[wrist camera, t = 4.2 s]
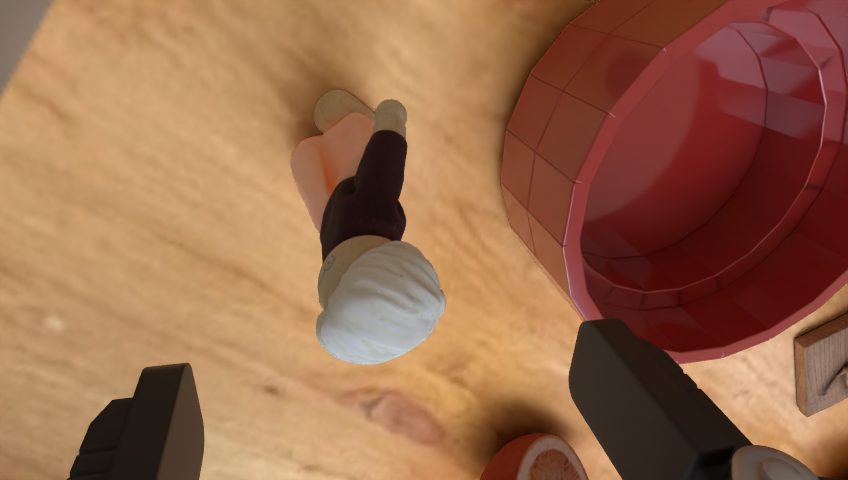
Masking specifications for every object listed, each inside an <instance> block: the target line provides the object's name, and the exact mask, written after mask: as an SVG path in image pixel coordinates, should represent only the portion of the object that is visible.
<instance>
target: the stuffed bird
mask: <svg viewBox="0 0 848 480" xmlns="http://www.w3.org/2000/svg"><path fill="white" fill-rule="evenodd" d="M794 345H795V348H794V349H795V369H796V388H797V406H798V407H799V410H800V412H801V413H802V414H803V415H805V416H806V417H809V416H811V415H813V414H815V413H817V412H819V411H822V410H824V409H826V408H828V407H830V406H832V405H834V404H836V403H838V402H840V401H842V400H844V399H846V398H848V313H847V314H845V315H842V316H840V317H838V318H837V319H835V320H832V321H830V322H828V323H826V324H824V325H822V326H820V327H818V328H816V329H814V330H812V331H810V332H808V333H806V334H804V335H802V336H800V337H798V338H796V339H795V340H794Z"/></svg>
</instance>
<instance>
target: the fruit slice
mask: <svg viewBox="0 0 848 480" xmlns="http://www.w3.org/2000/svg"><path fill="white" fill-rule="evenodd" d="M480 480H589V479H588V477H587V474H586V471H585V469H584V467H583V465H582V463H581V461H580V459H579V458H578V456H577V455H576V453H575V452H574V450H573V449H572V447H571V446H570V445H569V444H568V443H567V442H565V441H564V440H563V439H562V438H560V437H558V436H556V435H551V434H543V433H532V434H528V435H524V436H521V437H518V438H516V439H515V440H513V441H511V442H509V443H507V444H506V445H505V446H504V447H502V448H501V449H500V450H499V452H498V453H496V454H495V455H494V456H493V458H492V459H491V461H490V462H489V464H488V466H487V467H486V469H485V471H484V472H483V474H482V476H481V478H480Z"/></svg>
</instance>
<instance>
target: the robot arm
mask: <svg viewBox="0 0 848 480" xmlns="http://www.w3.org/2000/svg"><path fill="white" fill-rule="evenodd" d="M569 389H570V393H571V396H572V399H573V401H574V403H575V405H576V406H577V408H578V410H579V411H580V413H581V414H582V416H583V418H584V419H585V421H586V422H587V424H588V425H589V427H590V429H591V430H592V432H593V433H594V435H595V437H596V438H597V440H598V441H599V443H600V445H601V446H602V448H603V449H604V451H605V452H606V454H607V456H608V457H609V459H610V460H611V462H612V464H613V465H614V467H615V468H616V470H617V472H618V473H619V475H620V476H621V478H622V479H623V480H840V479H833V478H825V477H817V476H816V475H815V474H814V473H813V472H812V471H811V470H810V469H809V468H807V467H806V466H805V465H804V464H802V463H801V462H800V461H798V460H797V459H795V458H793V457H792V456H790V455H788V454H786V453H784V452H782V451H779V450H776V449H774V448H770V447H766V446H760V445H753V444H752V443H751V442H750V441H749V440H748V439H747V438H746V437H745V436H744V434H743V433H742V432H741V431H740V430H739V429H738V428H737V427H736V426H735V425H734V424H733V423H732V422H731V421H730V420H729V418H728V417H727V416H726V415H725V414H724V413H723V412H722V411H721V410H720V409H719V408H718V407H717V406H716V405H715V404H714V402H713V401H712V400H711V399H710V398H709V397H708V396H707V395H706V394H705V393H704V392H703V391H702V390H701V389H698V388H697V384H696V383H695V382H694V381H693V380H692V379H691V378H690V377H689V376H688V375H687V374H684V373H683V369H682V368H681V367H680V366H679V365H678V364H677V363H676V362H675V361H674V360H673V359H672V358H671V357H670V356H669V354H668V353H667V352H665V351H663V350H662V349H660V348H659V347H657V346H656V345H654V344H652V343H651V342H649V341H648V340H646V339H644V338H641V339H639V338H638V337H637V336H636V335H635V334H634V333H633V331H632V330H631V329H630V328H629V327H628V326H627V325H626V324H625V323H624V322H623V321H622V320H621V319H619V318H608V319H599V320H589V321H584V322H583V323H582V324H581V325H580V327H579V331H578V335H577V340H576V344H575V349H574V353H573V358H572V362H571V367H570V371H569ZM203 453H204V425H203V419H202V414H201V409H200V405H199V400H198V395H197V391H196V386H195V381H194V377H193V372H192V368H191V366H190V364H189V363H180V364H171V365H162V366H152V367H146V368H144V369H143V371H142V373H141V376H140V378H139V381H138V384H137V387H136V390H135V393H134V396H133V398H124V399H116V400H112V401H111V402H110V403H109V404H108V405H107V406H106V407H105V408H104V410H103V411H102V412H101V413H100V414H99V415H98V416H97V417H96V418H95V419H94V420H93V421H92V422H91V424H90V425H89V428H88V430H87V433H86V435H85V437H84V440H83V442H82V445H81V447H80V449H79V455H78V456H77V457H76V459H75V461H74V464H73V466H72V468H71V471H70V478H67V480H199V477H200V471H201V465H202V459H203Z"/></svg>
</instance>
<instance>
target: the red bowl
mask: <svg viewBox="0 0 848 480" xmlns="http://www.w3.org/2000/svg"><path fill="white" fill-rule="evenodd" d="M529 74H530V75H529V76H528V78H527V80H526V83H525V85H524V88H523V90H522V92H521V95H520V97H519V100H518V102H517V104H516V107H515V109H514V111H513V114H512V116H511V119H510V121H509V123H508V126H507V130H506V135H505V144H504V153H503V162H502V171H501V187H502V191H503V196H504V201H505V205H506V210H507V214H508V219H509V223H510V226H511V228H512V230H513V231H514V233H515V234H516V236H517V237H518V239H519V240H520V242H521V243H522V245H523V246H524V248H525V249H526V251H527V252H528V254H529V255H530V257H531V258H532V259H533V260H534V262H535V263H536V264H537V265H538V267H539V268H540V269H541V270H542V272H543V273H544V274H545V275H546V277H547V278H548V279H549V280H550V281H551V283H552V284H553V285H554V286H555V288H556V289H557V290H558V291H559V292H560V294H561V295H562V296H563V297H564V299H565V300H566V301H567V302H568V304H569V305H570V306H571V307H572V309H573V310H574V311H575V312H576V314H577V315H578V316H579V317H580V318H581V320H582V321H583V322H584V321H589V320H599V319H608V318H619V319H621V320H622V321H623V322H624V323H625V324H626V325H627V326H628V327H629V328H630V329H631V330H632V331H633V333H634V334H635V335H636V336H637V337H638V338H639V339H641V338H644V339H646V340H648V341H649V342H651V343H652V344H654V345H656V346H657V347H659V348H660V349H662V350H663V351H665V352H667V353H668V354H669V356H670V357H671V358H672V359H673V360H674V361H675V362H676V363H677V364H685V363H692V362H699V361H707V360H714V359H720V358H724V357H727V356H729V355H732V354H734V353H737V352H740V351H742V350H745V349H747V348H750V347H752V346H755V345H757V344H760V343H762V342H765V341H767V340H770V338H773V337H775V336H776V335H778V334H780V333H781V332H783V331H784V330H786V329H787V328H789V327H791V326H792V325H794V324H795V323H797V322H798V321H800V320H801V319H803V318H805V317H806V316H808V315H809V314H811V313H812V312H814V311H816V310H817V309H818V308H820V307H821V306H822V305H823V304H824V303H825V302H826V301H828V300H829V299H830V298H831V297H832V296H833V295H834V294H835V293H836V292H837V291H838V290H840V289H841V288H842V287H843V286H844V285H845V284H846V283H847V282H848V0H600V1H598V2H597V3H596V4H594V5H593V6H592V7H590V8H589V9H587V10H586V11H585V12H583V13H582V14H581V15H579V16H578V17H577V18H575V19H574V20H573V21H571V22H570V23H569V25H567V26H566V27H565V28H564V29H563V31H562V32H561V33H560V35H559V36H558V37H557V38H556V40H555V41H554V42H553V44H552V45H551V46H550V47H549V49H548V50H547V51H546V53H545V54H544V55H543V56H542V58H541V59H540V60H539V62H538V63H537V64H536V65H535V67H534V68H533V69H532V70H531V72H530V73H529Z"/></svg>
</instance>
